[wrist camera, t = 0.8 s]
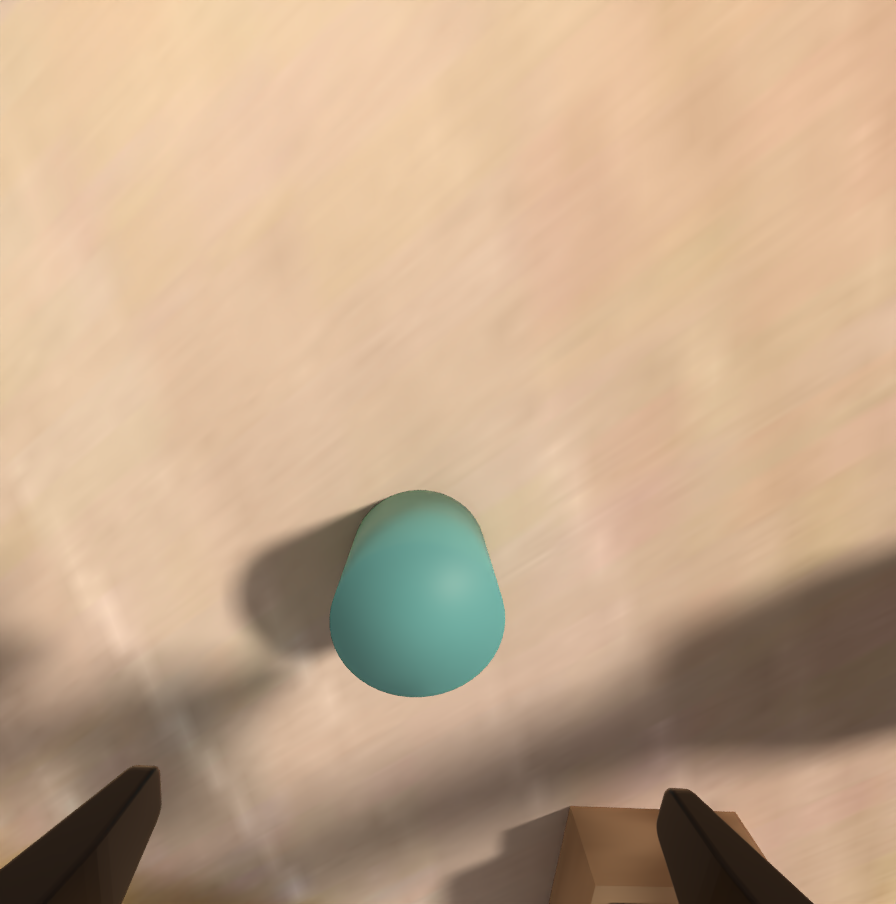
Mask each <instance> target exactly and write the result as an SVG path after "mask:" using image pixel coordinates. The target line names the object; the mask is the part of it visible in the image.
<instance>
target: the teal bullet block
mask: <svg viewBox="0 0 896 904" xmlns="http://www.w3.org/2000/svg"><path fill="white" fill-rule="evenodd" d="M504 626H505V609H504V605H503V600H502V596H501V593H500V590H499V587H498V583H497V580H496V577H495V574H494V570H493V567H492V564H491V560H490V557H489V554H488V551H487V547H486V544H485V541H484V538H483V534H482V532H481V529H480V526H479V524H478V523H477V521H476V519H475V518H474V516H473V515H472V514H471V513H470V511H469V510H468V509H467V508H466V507H464V506H463V505H462V504H461V503H459V502H458V501H456V500H455V499H453V498H451V497H449V496H446V495H444V494H441V493H437V492H433V491H427V490H414V491H406V492H402V493H398V494H396V495H393V496H391V497H389V498H387V499H385V500H383V501H382V502H380V503H379V504H377V505H376V506H375V507H374V508H373V509H372V510H370V512H369V513H368V514H367V515H366V516H365V518H364V519H363V521H362V522H361V524H360V526H359V528H358V530H357V533H356V536H355V539H354V541H353V544H352V547H351V550H350V553H349V556H348V558H347V561H346V564H345V567H344V570H343V573H342V576H341V578H340V581H339V584H338V587H337V590H336V593H335V595H334V598H333V602H332V605H331V611H330V632H331V638H332V641H333V644H334V647H335V649H336V651H337V653H338V655H339V657H340V659H341V660H342V661H343V663H344V664H345V666H346V667H347V668H348V669H349V670H350V671H351V672H352V673H353V674H354V675H355V676H356V677H358V678H359V679H360V680H362V681H363V682H365V683H366V684H368V685H369V686H371V687H373V688H376V689H378V690H380V691H383V692H386V693H389V694H393V695H398V696H405V697H426V696H434V695H438V694H443V693H445V692H448V691H451V690H454V689H456V688H458V687H460V686H462V685H464V684H466V683H467V682H469V681H470V680H472V679H473V678H474V677H476V676H477V675H478V674H479V673H480V672H481V671H482V670H483V669H484V668H485V667H486V666H487V665H488V664H489V662H490V661H491V660H492V658H493V657H494V655H495V653H496V652H497V650H498V648H499V645H500V643H501V640H502V637H503V632H504Z"/></svg>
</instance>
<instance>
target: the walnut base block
mask: <svg viewBox="0 0 896 904" xmlns="http://www.w3.org/2000/svg"><path fill="white" fill-rule="evenodd" d="M659 811H660V809H635V808H607V807H579V806H570V810H569V814H568V819H567V823H566V828H565V832H564V837H563V841H562V846H561V850H560V855H559V859H558V864H557V868H556V873H555V877H554V882H553V886H552V891H551V895H550V900H549V904H679V903H678V900H677V897H676V894H675V890H674V887H673V884H672V881H671V878H670V874H669V871H668V868H667V865H666V862H665V859H664V855H663V852H662V849H661V846H660V843H659V839H658V835H657V829H656V823H657V818H658V814H659ZM714 812H715V813H716V814H717V815H718V816H719V817H721V818H722V819H723V820H724V821H725V822H726V823H727V824H728V825H729V826H730V827H731V828H732V829H733V830H735V831H736V832H737V833H738V834H739V835H740V836H741V837H742V838H743V839H744V840H745V841H746V842H748V843H749V844H750V845H751V846H752V847H753V848H754V849H755V850H756V851H757V852H758V853H759V854H761V855H762V856H763V857H764V858H765V856H764V855H763V853H762V852H761V850H760V849H759V847H758V846H757V844H756V843H755V841H754V840H753V838H752V837H751V835H750V834H749V832H748V831H747V829H746V828H745V826H744V825H743V823H742V822H741V820H740V819H739V817H738V816H737V814H736V813H735V812H719V811H714ZM765 859H766V858H765ZM766 860H767V859H766Z"/></svg>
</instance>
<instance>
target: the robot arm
mask: <svg viewBox="0 0 896 904" xmlns="http://www.w3.org/2000/svg"><path fill="white" fill-rule="evenodd" d="M160 810H161V781H160V770H159V768H158V767H156V766H145V765H136V766H132V767H130V768H128V769H127V770H126V771H124V772H123V773H122V774H121V775H119V776H118V777H117V778H116V779H114V780H113V781H112V782H110V783H109V784H108V785H107V786H105V787H104V788H103V789H102V790H100V791H99V792H98V793H97V794H95V795H94V796H93V797H91V798H90V799H89V800H88V801H86V802H85V803H84V804H83V805H81V806H80V807H79V808H78V809H76V810H75V811H74V812H72V813H71V814H70V815H69V816H67V817H66V818H65V819H64V820H62V821H61V822H60V823H59V824H57V825H56V826H55V827H53V828H52V829H51V830H50V831H48V832H47V833H46V834H45V835H43V836H42V837H41V838H40V839H38V840H37V841H36V842H34V843H33V844H32V845H31V846H29V847H28V848H27V849H26V850H24V851H23V852H22V853H21V854H19V855H18V856H17V857H15V858H14V859H13V860H12V861H10V862H9V863H8V864H7V865H5V866H4V867H3V868H2V869H0V904H121V903H122V901H123V899H124V897H125V894H126V892H127V890H128V887H129V885H130V883H131V880H132V878H133V876H134V873H135V871H136V869H137V866H138V864H139V862H140V859H141V857H142V855H143V852H144V850H145V848H146V845H147V843H148V841H149V838H150V836H151V834H152V831H153V829H154V827H155V825H156V822H157V820H158V817H159V814H160ZM656 829H657V835H658V839H659V843H660V846H661V849H662V852H663V855H664V859H665V862H666V865H667V868H668V871H669V874H670V878H671V881H672V884H673V887H674V890H675V894H676V897H677V900H678V903H679V904H813V903H812V902H811V901H810V900H809V899H808V898H807V897H806V896H805V895H804V894H803V893H802V892H800V891H799V890H798V889H797V888H796V887H795V886H794V885H793V884H792V883H791V882H790V881H789V880H788V879H786V878H785V877H784V876H783V875H782V874H781V873H780V872H779V871H778V870H777V869H776V868H775V867H773V866H772V865H771V864H770V863H769V862H768V861H767V860H766V859H765V858H764V857H763V856H762V855H761V854H759V853H758V852H757V851H756V850H755V849H754V848H753V847H752V846H751V845H750V844H749V843H748V842H746V841H745V840H744V839H743V838H742V837H741V836H740V835H739V834H738V833H737V832H736V831H735V830H733V829H732V828H731V827H730V826H729V825H728V824H727V823H726V822H725V821H724V820H723V819H722V818H721V817H719V816H718V815H717V814H716V813H715V812H714V811H713V810H712V809H711V808H710V807H709V806H708V805H706V804H705V803H704V802H703V801H702V800H701V799H700V798H699V797H698V796H697V795H696V794H694V793H693V792H692V791H690V790H688V789H680V788H669V789H667V790H666V791H665V793H664V796H663V800H662V803H661V807H660V811H659V814H658V818H657V823H656Z"/></svg>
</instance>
